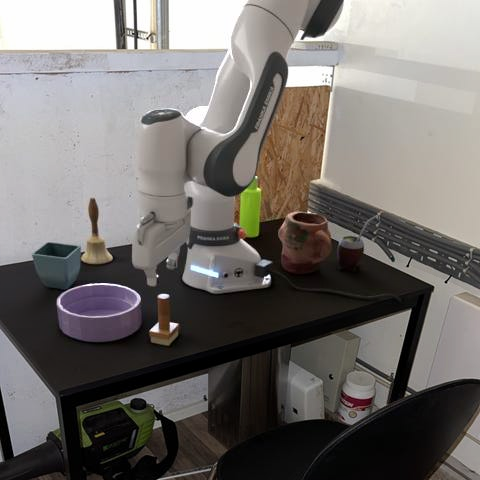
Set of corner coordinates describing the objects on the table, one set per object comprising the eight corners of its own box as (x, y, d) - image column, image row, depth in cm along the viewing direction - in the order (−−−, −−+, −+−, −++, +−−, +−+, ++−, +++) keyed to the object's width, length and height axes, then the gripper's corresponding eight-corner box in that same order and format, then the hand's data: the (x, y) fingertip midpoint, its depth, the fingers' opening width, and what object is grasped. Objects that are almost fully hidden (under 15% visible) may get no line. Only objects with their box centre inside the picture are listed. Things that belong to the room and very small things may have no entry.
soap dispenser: (243, 228, 197) (246, 160, 186) (262, 233, 194) (266, 164, 182) (232, 233, 193) (235, 163, 182) (251, 238, 190) (255, 168, 178)
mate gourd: (329, 265, 175) (336, 210, 166) (352, 261, 178) (360, 206, 169) (346, 275, 170) (354, 218, 161) (369, 270, 173) (379, 214, 164)
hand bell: (116, 254, 175) (112, 194, 165) (108, 265, 168) (103, 203, 159) (86, 252, 175) (80, 192, 166) (77, 263, 168) (70, 201, 159)
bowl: (138, 306, 148) (137, 282, 145) (144, 341, 134) (143, 315, 131) (61, 310, 145) (57, 285, 142) (59, 346, 131) (55, 319, 128)
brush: (160, 331, 138) (159, 289, 133) (179, 335, 137) (178, 292, 132) (149, 342, 134) (147, 299, 129) (168, 346, 133) (167, 303, 127)
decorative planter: (346, 278, 168) (353, 225, 160) (311, 287, 162) (317, 232, 154) (297, 254, 181) (302, 204, 173) (263, 262, 175) (266, 210, 167)
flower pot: (70, 294, 152) (66, 258, 147) (36, 290, 153) (30, 253, 148) (85, 280, 159) (81, 245, 154) (52, 276, 160) (47, 241, 155)
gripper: (154, 223, 111) (156, 298, 119) (197, 195, 127) (195, 262, 135) (121, 218, 112) (124, 292, 120) (167, 190, 128) (167, 257, 136)
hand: (162, 276), depth 128 cm, fingers open, 8 cm apart
